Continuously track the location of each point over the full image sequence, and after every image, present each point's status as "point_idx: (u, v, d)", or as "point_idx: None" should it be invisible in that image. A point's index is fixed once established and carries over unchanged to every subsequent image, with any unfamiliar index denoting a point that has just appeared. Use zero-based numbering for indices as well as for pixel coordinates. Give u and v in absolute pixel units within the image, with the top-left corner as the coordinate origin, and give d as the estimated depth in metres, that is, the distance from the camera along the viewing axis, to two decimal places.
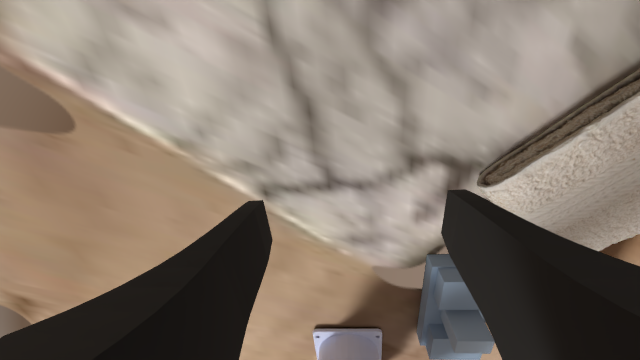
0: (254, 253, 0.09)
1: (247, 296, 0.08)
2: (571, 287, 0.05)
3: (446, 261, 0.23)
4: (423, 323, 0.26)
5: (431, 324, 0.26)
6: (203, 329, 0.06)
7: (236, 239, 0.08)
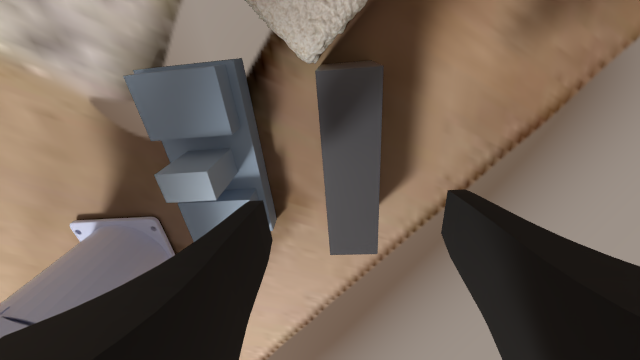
0: (254, 253, 0.09)
1: (247, 296, 0.08)
2: (571, 288, 0.05)
3: None
4: None
5: None
6: (203, 329, 0.06)
7: (236, 239, 0.08)
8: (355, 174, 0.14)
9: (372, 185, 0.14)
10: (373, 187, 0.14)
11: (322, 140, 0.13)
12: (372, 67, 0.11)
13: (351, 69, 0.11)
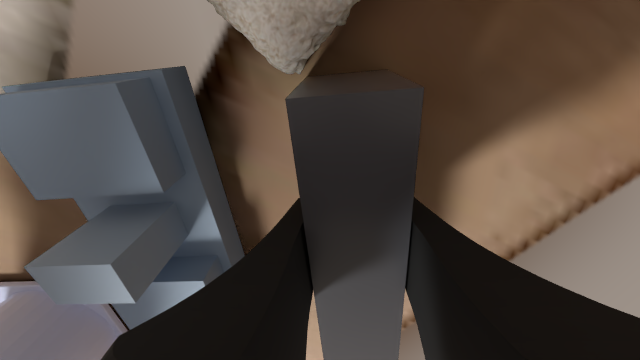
0: None
1: (307, 295, 0.08)
2: (454, 289, 0.05)
3: None
4: None
5: None
6: (288, 329, 0.06)
7: (301, 237, 0.08)
8: (364, 267, 0.08)
9: (393, 283, 0.08)
10: (394, 285, 0.08)
11: (305, 216, 0.07)
12: (400, 90, 0.05)
13: (357, 94, 0.06)
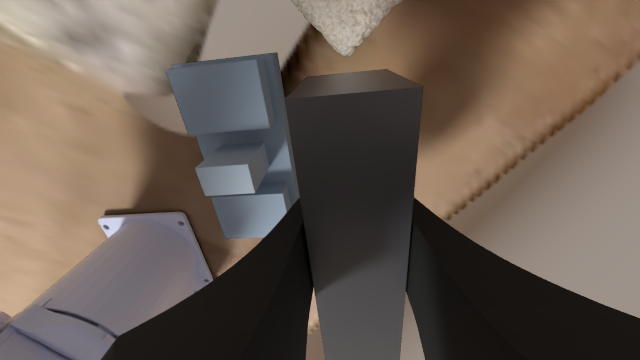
0: None
1: (307, 295, 0.08)
2: (454, 289, 0.05)
3: None
4: None
5: None
6: (288, 329, 0.06)
7: (301, 237, 0.08)
8: (365, 267, 0.08)
9: (393, 283, 0.08)
10: (395, 285, 0.08)
11: (305, 217, 0.07)
12: (399, 90, 0.05)
13: (356, 94, 0.06)
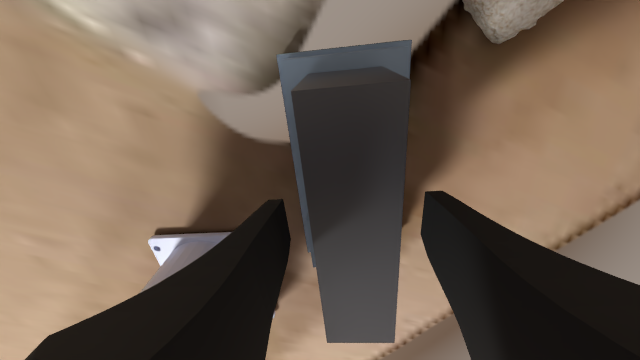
0: (276, 252, 0.09)
1: (271, 296, 0.08)
2: (523, 288, 0.05)
3: None
4: (301, 205, 0.15)
5: None
6: (236, 329, 0.06)
7: (262, 238, 0.08)
8: (362, 244, 0.09)
9: (388, 259, 0.09)
10: (390, 262, 0.09)
11: (308, 198, 0.08)
12: (391, 83, 0.06)
13: (353, 87, 0.06)
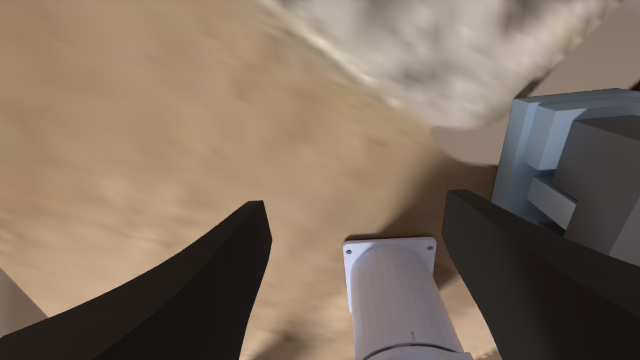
0: (254, 253, 0.09)
1: (247, 296, 0.08)
2: (571, 288, 0.05)
3: (547, 98, 0.16)
4: None
5: None
6: (203, 329, 0.06)
7: (236, 239, 0.08)
8: None
9: None
10: None
11: (630, 215, 0.12)
12: None
13: None
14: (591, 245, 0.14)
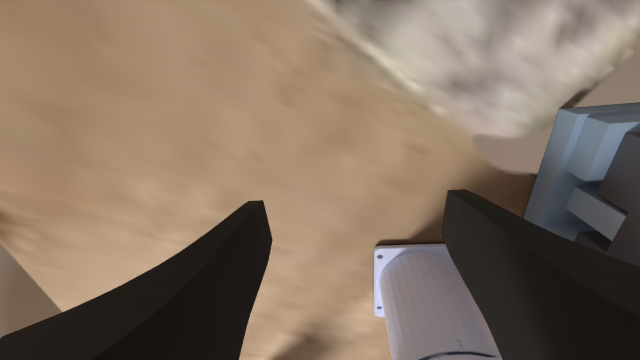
0: (254, 253, 0.09)
1: (247, 296, 0.08)
2: (571, 288, 0.05)
3: (595, 110, 0.16)
4: (537, 223, 0.19)
5: (549, 223, 0.19)
6: (203, 329, 0.06)
7: (236, 239, 0.08)
8: None
9: None
10: None
11: None
12: None
13: None
14: None
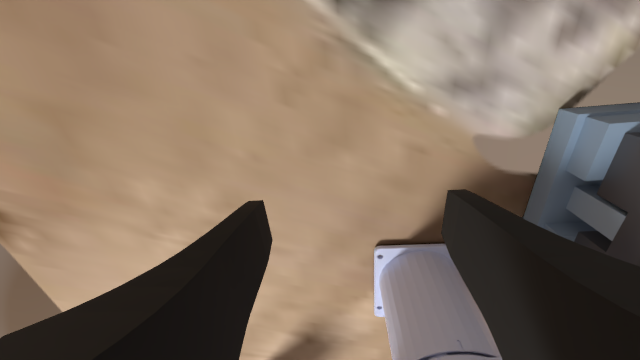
0: (254, 253, 0.09)
1: (247, 296, 0.08)
2: (571, 288, 0.05)
3: (595, 110, 0.16)
4: (537, 223, 0.19)
5: (549, 223, 0.19)
6: (203, 329, 0.06)
7: (236, 239, 0.08)
8: None
9: None
10: None
11: None
12: None
13: None
14: None
